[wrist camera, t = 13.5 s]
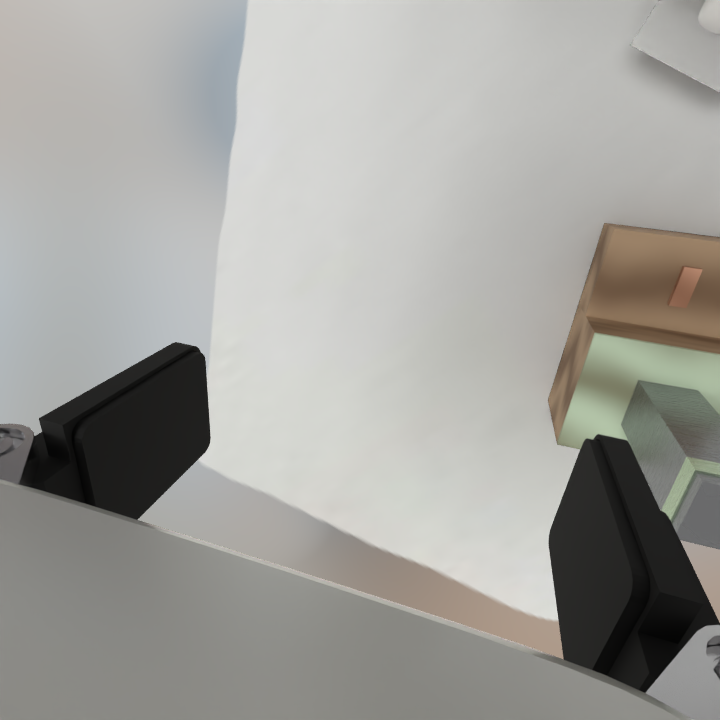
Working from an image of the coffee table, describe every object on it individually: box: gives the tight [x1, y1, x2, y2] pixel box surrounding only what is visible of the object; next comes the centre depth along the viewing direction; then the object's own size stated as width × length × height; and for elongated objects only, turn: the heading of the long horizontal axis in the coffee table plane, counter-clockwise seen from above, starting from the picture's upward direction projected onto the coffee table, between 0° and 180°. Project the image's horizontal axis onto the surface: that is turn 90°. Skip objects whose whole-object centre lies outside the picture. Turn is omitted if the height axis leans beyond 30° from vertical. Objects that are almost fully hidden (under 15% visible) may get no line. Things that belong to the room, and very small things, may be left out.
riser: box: [548, 223, 720, 459], centre depth 36 cm, size 17×12×8 cm
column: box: [621, 380, 720, 549], centre depth 28 cm, size 4×4×12 cm
